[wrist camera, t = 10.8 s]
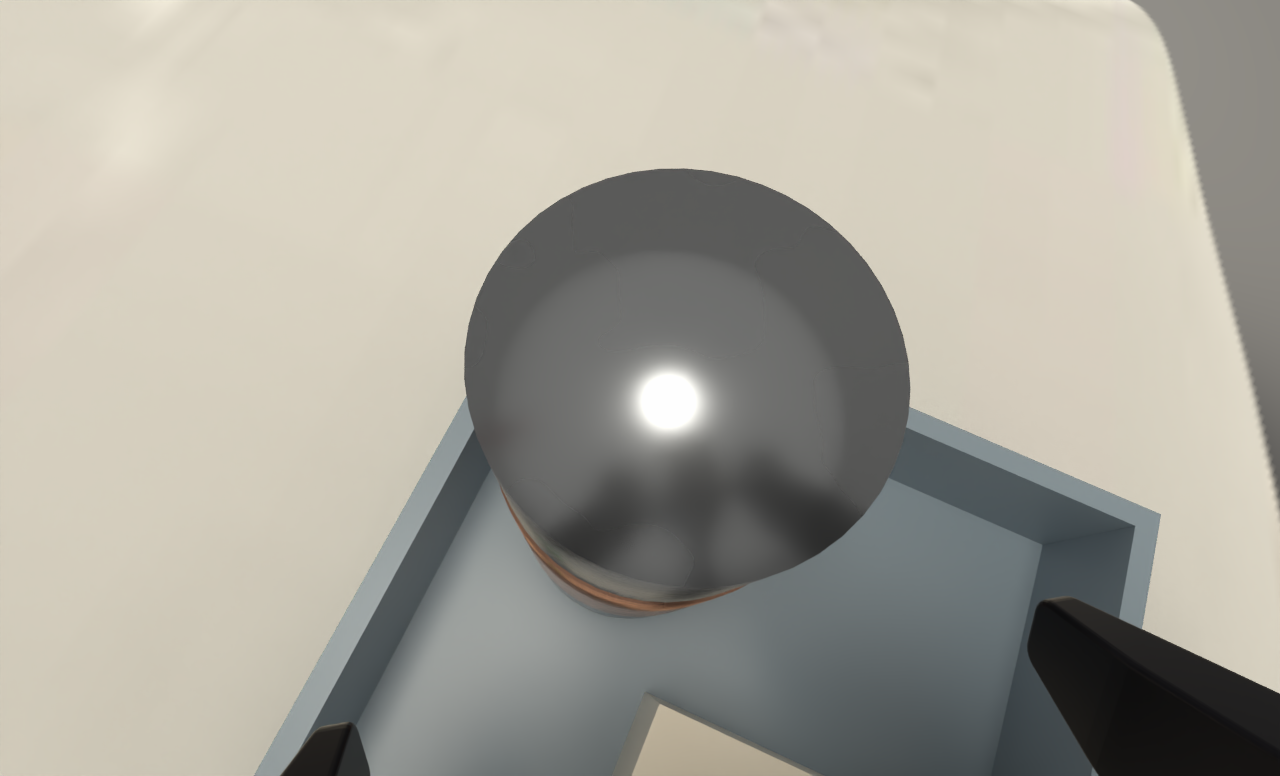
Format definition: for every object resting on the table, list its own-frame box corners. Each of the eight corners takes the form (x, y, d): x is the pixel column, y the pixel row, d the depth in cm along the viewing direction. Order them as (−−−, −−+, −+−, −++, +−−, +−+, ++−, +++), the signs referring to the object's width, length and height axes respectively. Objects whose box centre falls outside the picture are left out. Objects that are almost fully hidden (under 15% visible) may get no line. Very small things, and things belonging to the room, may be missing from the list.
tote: (1054, 537, 23) (1160, 514, 19) (903, 1231, 17) (1009, 1426, 13) (552, 319, 24) (546, 251, 20) (245, 895, 18) (143, 972, 14)
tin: (768, 516, 22) (999, 362, 10) (630, 667, 20) (704, 707, 8) (628, 383, 23) (682, 96, 11) (486, 514, 21) (361, 348, 9)
